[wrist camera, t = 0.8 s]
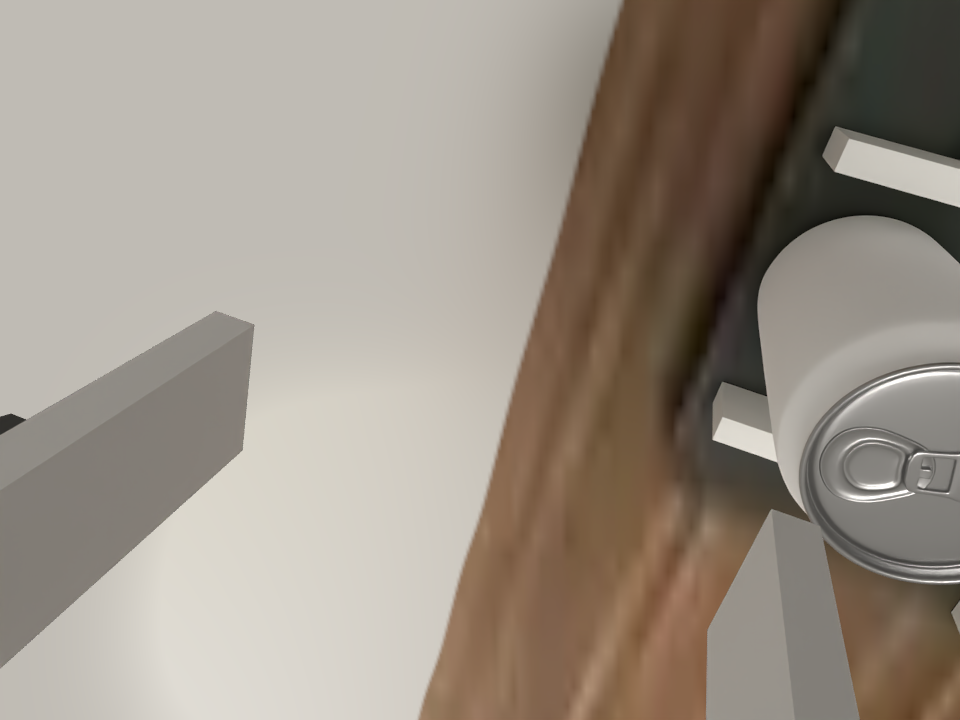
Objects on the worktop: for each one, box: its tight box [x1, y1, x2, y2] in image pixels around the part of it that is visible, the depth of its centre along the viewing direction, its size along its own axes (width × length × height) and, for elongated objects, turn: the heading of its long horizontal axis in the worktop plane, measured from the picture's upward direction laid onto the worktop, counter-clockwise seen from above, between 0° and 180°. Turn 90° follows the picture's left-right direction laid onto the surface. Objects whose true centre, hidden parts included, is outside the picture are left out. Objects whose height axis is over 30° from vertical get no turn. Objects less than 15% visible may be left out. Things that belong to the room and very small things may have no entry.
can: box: [757, 215, 960, 585], centre depth 21 cm, size 6×6×12 cm
